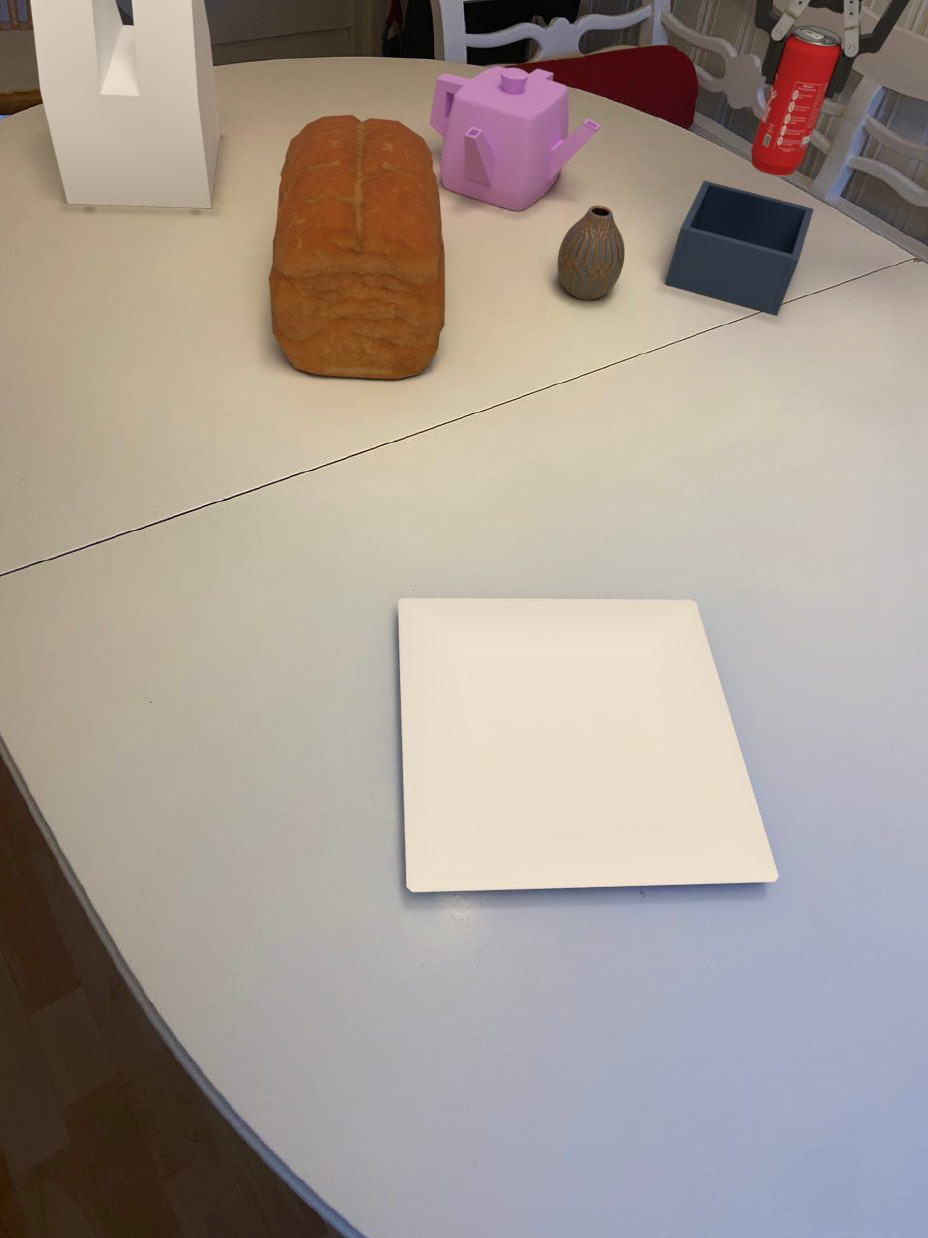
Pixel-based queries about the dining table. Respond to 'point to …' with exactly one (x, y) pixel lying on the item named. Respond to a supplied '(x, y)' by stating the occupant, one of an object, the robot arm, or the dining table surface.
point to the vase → (591, 255)
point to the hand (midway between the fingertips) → (799, 87)
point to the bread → (358, 251)
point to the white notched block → (129, 101)
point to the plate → (569, 748)
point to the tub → (739, 247)
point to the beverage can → (795, 99)
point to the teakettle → (504, 134)
